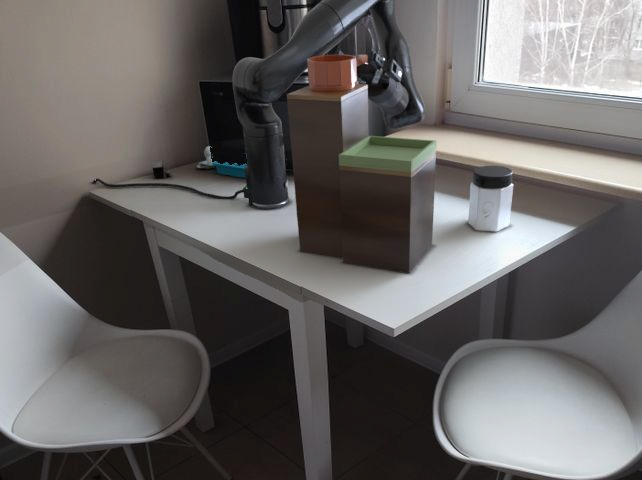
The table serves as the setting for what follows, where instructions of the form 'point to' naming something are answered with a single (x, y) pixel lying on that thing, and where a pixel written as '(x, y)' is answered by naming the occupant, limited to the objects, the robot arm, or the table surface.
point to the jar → (490, 198)
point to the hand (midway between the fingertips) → (354, 55)
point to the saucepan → (333, 72)
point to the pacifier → (208, 161)
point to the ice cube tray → (230, 169)
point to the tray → (388, 153)
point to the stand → (354, 187)
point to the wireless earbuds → (159, 170)
